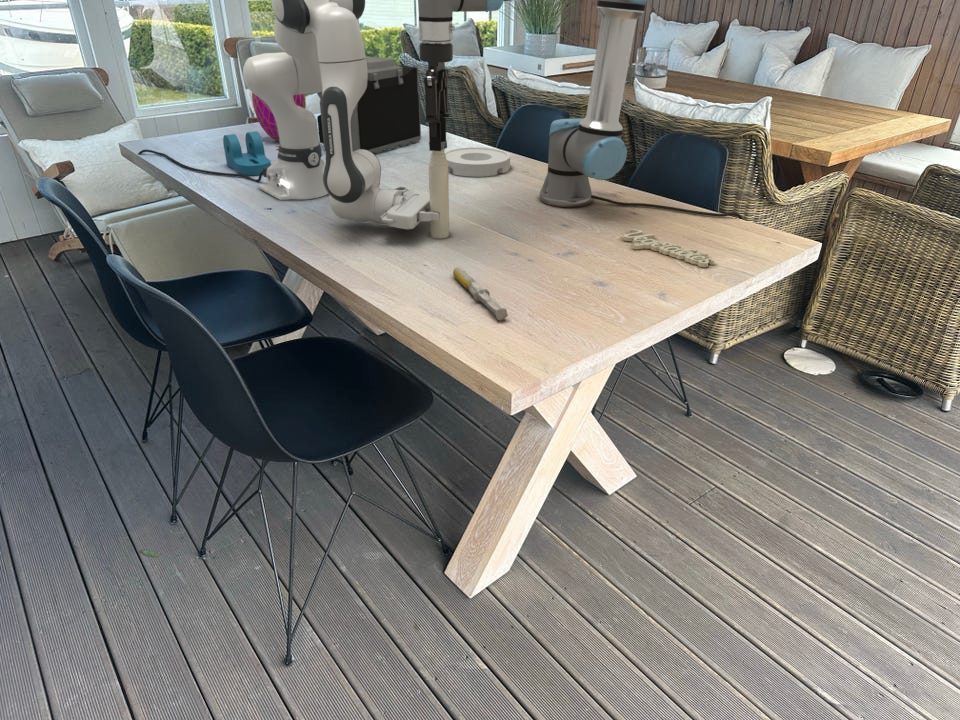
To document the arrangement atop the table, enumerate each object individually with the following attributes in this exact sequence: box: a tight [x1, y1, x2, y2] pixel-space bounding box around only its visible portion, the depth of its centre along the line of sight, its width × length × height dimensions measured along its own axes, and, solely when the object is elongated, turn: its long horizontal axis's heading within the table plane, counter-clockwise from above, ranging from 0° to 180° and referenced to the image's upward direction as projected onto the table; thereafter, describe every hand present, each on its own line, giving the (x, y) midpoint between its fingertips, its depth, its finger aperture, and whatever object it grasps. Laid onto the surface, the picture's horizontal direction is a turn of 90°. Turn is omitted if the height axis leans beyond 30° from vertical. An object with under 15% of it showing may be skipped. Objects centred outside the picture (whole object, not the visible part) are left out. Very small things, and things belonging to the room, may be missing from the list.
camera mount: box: [222, 131, 272, 176], centre depth 226 cm, size 18×10×10 cm, turn 35°
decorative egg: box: [251, 92, 307, 141], centre depth 257 cm, size 19×19×30 cm
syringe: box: [452, 266, 509, 321], centre depth 145 cm, size 25×4×3 cm, turn 21°
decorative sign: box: [622, 228, 715, 268], centre depth 169 cm, size 26×1×10 cm
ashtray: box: [444, 146, 511, 178], centre depth 232 cm, size 23×23×4 cm
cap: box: [428, 138, 448, 150], centre depth 165 cm, size 4×4×2 cm
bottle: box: [428, 149, 450, 239], centre depth 171 cm, size 5×5×23 cm
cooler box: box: [316, 55, 422, 155], centre depth 250 cm, size 37×22×30 cm, turn 144°
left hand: (442, 212), depth 174 cm, fingers closed on bottle, 5 cm apart
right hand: (438, 147), depth 166 cm, fingers closed on cap, 4 cm apart
